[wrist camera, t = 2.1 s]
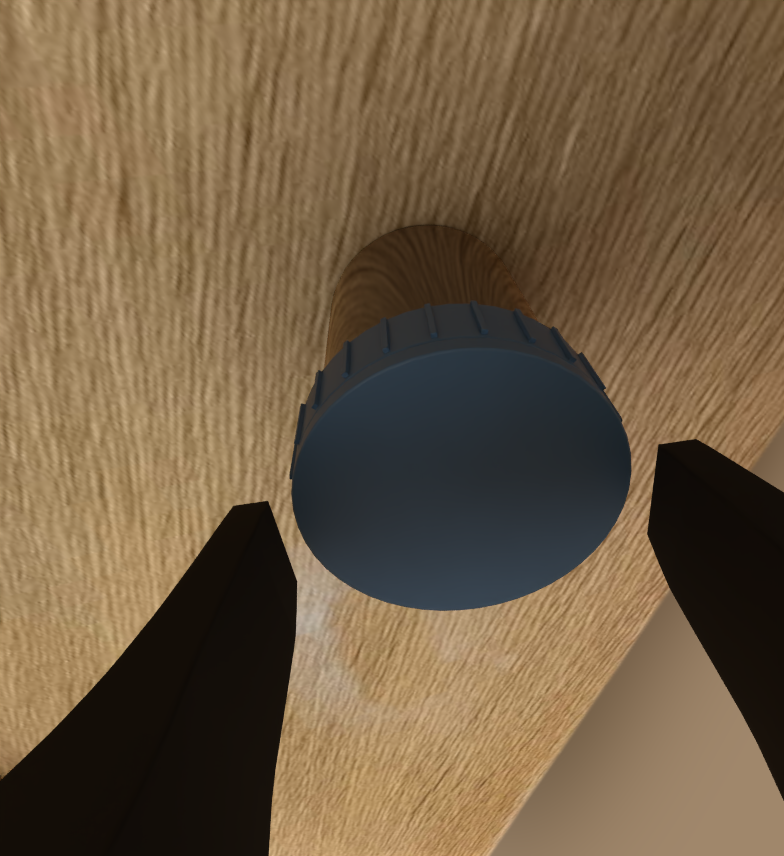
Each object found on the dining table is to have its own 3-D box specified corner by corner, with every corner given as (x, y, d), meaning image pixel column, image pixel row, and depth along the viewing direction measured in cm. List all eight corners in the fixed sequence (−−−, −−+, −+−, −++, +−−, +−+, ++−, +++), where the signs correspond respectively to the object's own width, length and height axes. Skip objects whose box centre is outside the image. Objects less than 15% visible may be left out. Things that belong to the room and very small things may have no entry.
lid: (518, 229, 10) (546, 265, 8) (645, 472, 13) (682, 530, 11) (232, 409, 11) (211, 466, 10) (403, 585, 14) (408, 649, 13)
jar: (458, 182, 15) (525, 289, 9) (547, 341, 18) (646, 510, 12) (292, 294, 17) (249, 454, 10) (396, 426, 19) (411, 615, 13)
